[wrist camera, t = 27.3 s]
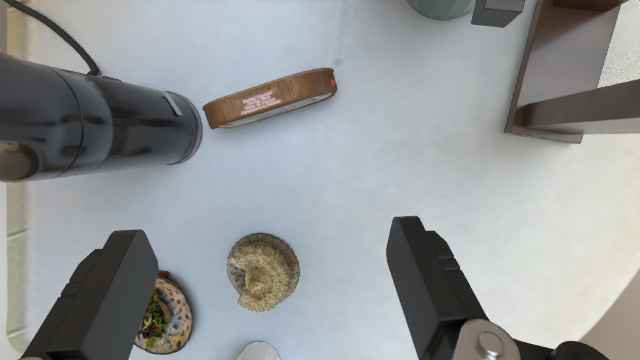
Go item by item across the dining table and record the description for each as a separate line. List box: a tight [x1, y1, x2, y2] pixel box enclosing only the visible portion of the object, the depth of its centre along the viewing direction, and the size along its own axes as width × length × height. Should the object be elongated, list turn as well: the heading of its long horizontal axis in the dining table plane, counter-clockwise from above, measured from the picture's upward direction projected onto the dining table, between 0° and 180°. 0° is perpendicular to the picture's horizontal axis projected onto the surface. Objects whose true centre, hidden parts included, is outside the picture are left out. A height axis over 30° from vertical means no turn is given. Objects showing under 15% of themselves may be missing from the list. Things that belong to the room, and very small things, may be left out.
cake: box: [227, 233, 300, 312], centre depth 40 cm, size 10×10×5 cm
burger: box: [134, 270, 192, 355], centre depth 42 cm, size 12×12×8 cm
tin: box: [203, 68, 337, 129], centre depth 35 cm, size 15×3×8 cm, turn 105°
